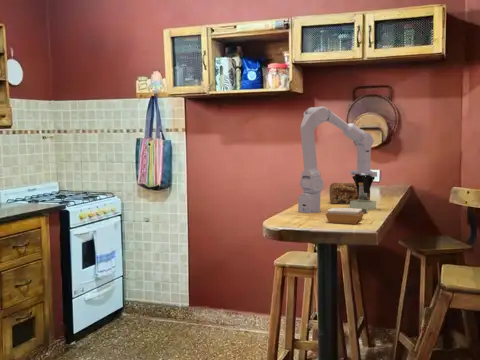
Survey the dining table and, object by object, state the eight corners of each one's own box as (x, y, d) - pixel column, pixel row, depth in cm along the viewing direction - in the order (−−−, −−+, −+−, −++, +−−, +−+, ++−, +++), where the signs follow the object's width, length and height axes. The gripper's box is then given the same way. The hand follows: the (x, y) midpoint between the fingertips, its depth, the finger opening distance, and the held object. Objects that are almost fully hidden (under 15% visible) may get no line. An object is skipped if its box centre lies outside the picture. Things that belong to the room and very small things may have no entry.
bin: (367, 212, 236) (367, 202, 236) (349, 210, 242) (349, 201, 241) (375, 210, 243) (376, 200, 242) (358, 208, 248) (359, 199, 247)
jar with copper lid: (369, 198, 241) (369, 182, 241) (363, 199, 239) (363, 183, 238) (362, 198, 244) (362, 182, 244) (356, 198, 242) (356, 182, 241)
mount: (360, 217, 222) (360, 211, 222) (338, 215, 228) (338, 209, 228) (372, 214, 229) (372, 209, 229) (350, 212, 236) (350, 207, 236)
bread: (330, 204, 265) (330, 183, 264) (329, 201, 275) (329, 181, 274) (370, 205, 263) (370, 183, 262) (367, 202, 273) (368, 181, 272)
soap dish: (364, 221, 212) (364, 208, 212) (358, 225, 203) (358, 211, 203) (331, 219, 217) (332, 206, 217) (324, 223, 208) (325, 209, 208)
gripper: (382, 161, 236) (382, 193, 237) (359, 160, 249) (358, 190, 250) (370, 161, 233) (369, 194, 234) (346, 160, 245) (346, 191, 246)
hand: (363, 192), depth 241 cm, fingers closed on jar with copper lid, 4 cm apart
